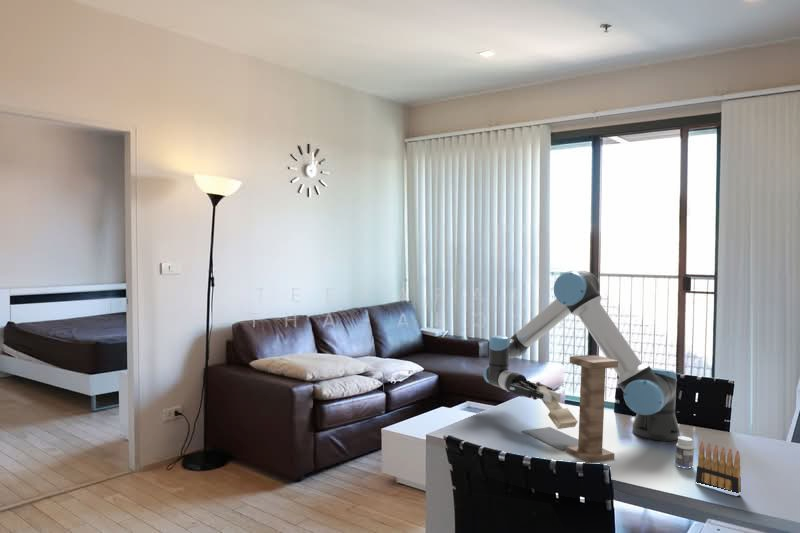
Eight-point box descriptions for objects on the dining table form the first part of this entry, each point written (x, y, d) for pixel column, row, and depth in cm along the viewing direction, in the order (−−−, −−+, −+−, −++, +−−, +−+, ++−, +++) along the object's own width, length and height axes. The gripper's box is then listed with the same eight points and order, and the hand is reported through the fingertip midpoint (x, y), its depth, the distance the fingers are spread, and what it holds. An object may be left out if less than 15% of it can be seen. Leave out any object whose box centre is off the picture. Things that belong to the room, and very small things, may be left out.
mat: (522, 431, 198) (522, 430, 198) (549, 428, 203) (550, 426, 203) (561, 450, 180) (561, 449, 180) (590, 446, 185) (590, 445, 185)
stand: (566, 451, 179) (569, 356, 178) (590, 447, 183) (594, 354, 182) (589, 462, 170) (593, 362, 169) (614, 458, 174) (618, 360, 173)
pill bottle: (672, 462, 172) (673, 435, 172) (688, 463, 172) (689, 435, 171) (679, 468, 167) (680, 440, 167) (695, 469, 167) (697, 441, 167)
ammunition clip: (740, 496, 149) (743, 450, 149) (738, 497, 148) (740, 452, 148) (698, 482, 157) (699, 439, 157) (695, 484, 156) (697, 440, 156)
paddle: (530, 391, 198) (533, 386, 196) (546, 390, 201) (549, 385, 199) (558, 429, 185) (561, 423, 183) (574, 426, 188) (577, 421, 186)
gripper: (530, 390, 216) (573, 407, 195) (494, 394, 209) (535, 411, 188) (531, 371, 216) (574, 385, 195) (495, 373, 209) (536, 389, 188)
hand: (555, 398), depth 191 cm, fingers closed on paddle, 3 cm apart
